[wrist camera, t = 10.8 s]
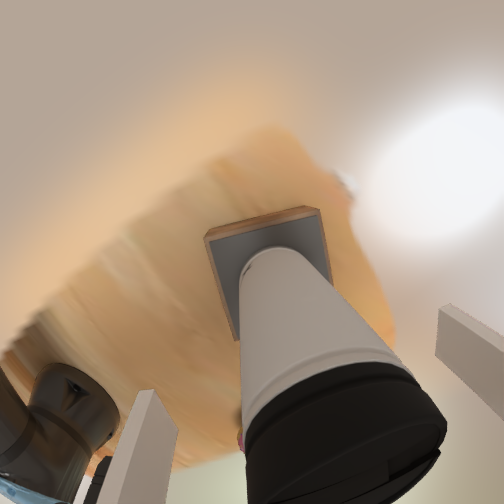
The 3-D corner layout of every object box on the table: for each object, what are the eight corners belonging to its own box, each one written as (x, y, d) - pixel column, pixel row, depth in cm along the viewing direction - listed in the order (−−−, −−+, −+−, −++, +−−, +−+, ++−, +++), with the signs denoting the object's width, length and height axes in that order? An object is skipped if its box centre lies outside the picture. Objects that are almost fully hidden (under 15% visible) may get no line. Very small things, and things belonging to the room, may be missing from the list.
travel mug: (223, 263, 23) (183, 505, 4) (297, 233, 23) (487, 387, 3) (251, 325, 25) (278, 555, 5) (320, 298, 24) (451, 488, 5)
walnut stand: (234, 316, 31) (234, 343, 25) (209, 229, 29) (202, 238, 23) (321, 293, 31) (339, 316, 25) (304, 205, 29) (320, 209, 23)
